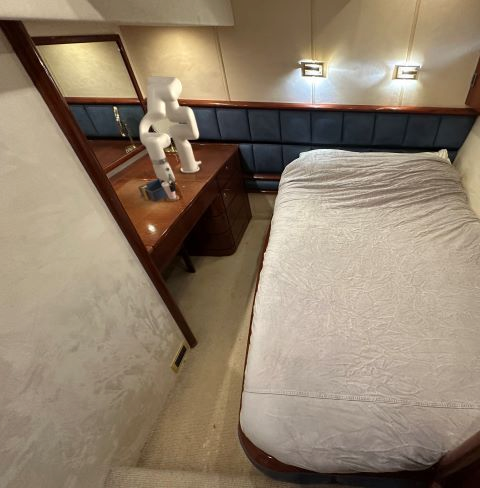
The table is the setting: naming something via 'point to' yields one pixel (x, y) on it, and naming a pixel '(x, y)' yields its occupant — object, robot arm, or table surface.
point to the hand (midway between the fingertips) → (169, 189)
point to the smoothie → (168, 190)
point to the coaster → (172, 199)
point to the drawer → (153, 190)
